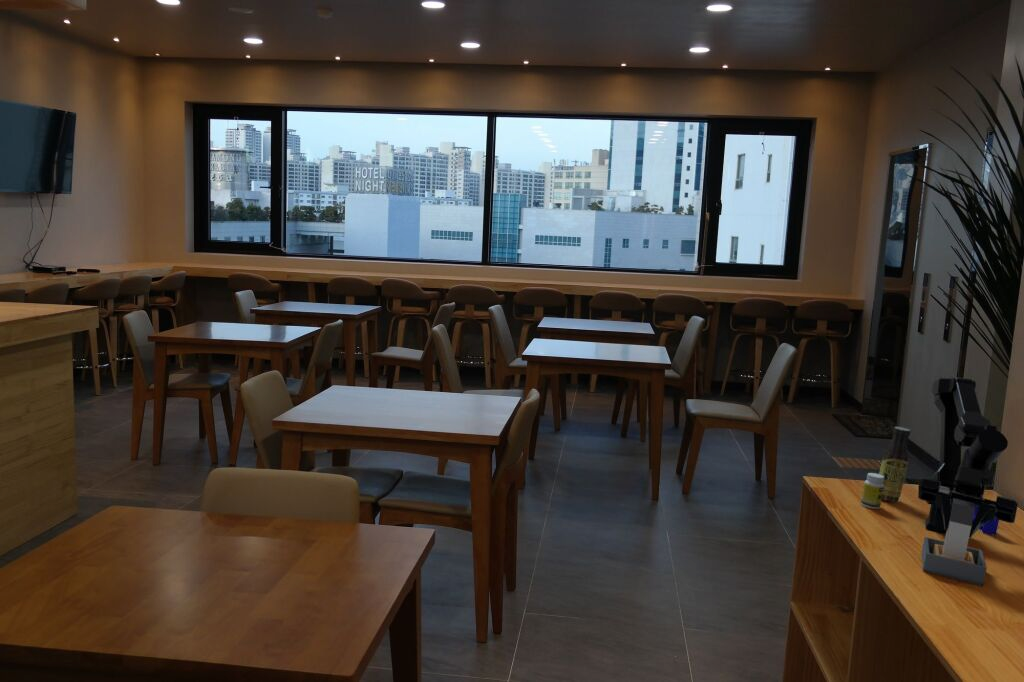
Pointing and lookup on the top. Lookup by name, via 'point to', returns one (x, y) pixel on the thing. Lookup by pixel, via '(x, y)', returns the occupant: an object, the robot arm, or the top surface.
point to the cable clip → (987, 524)
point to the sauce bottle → (895, 465)
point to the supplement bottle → (873, 491)
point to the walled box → (953, 563)
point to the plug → (958, 529)
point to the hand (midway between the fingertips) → (957, 532)
